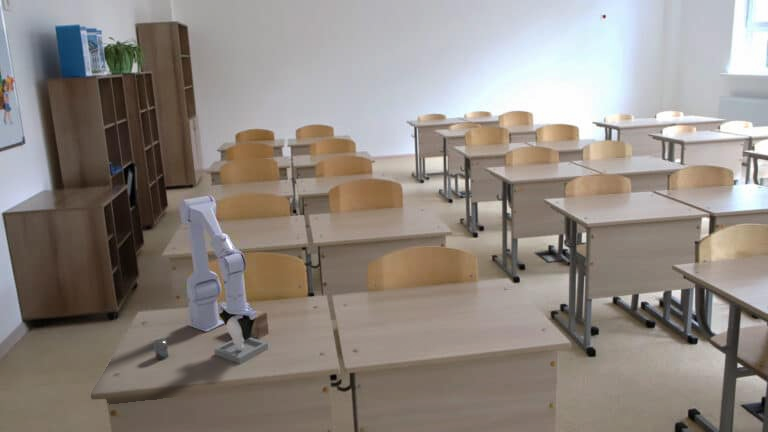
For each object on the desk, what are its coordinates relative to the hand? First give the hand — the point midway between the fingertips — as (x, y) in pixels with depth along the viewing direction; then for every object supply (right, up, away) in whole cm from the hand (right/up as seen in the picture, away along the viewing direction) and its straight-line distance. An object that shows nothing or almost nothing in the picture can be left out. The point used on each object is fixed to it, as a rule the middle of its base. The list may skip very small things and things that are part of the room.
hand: (240, 336), depth 187 cm
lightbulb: (0, -5, +1) cm, 5 cm away
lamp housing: (0, -1, +14) cm, 14 cm away
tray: (0, -5, +1) cm, 5 cm away
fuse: (-23, -6, 0) cm, 24 cm away
